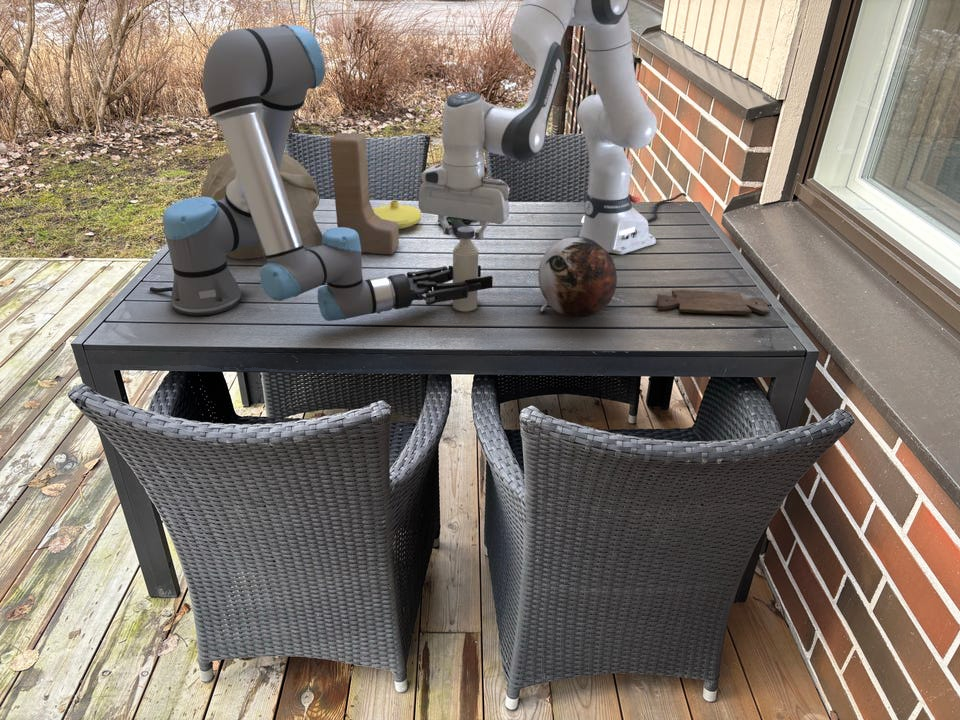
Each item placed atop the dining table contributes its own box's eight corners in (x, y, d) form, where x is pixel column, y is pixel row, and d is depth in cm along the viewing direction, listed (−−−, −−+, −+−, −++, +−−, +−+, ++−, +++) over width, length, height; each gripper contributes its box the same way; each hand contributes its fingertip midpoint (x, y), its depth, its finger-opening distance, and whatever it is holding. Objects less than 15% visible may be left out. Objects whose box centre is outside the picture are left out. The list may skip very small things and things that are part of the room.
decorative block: (393, 255, 191) (387, 142, 176) (339, 251, 193) (328, 139, 178) (399, 245, 198) (394, 134, 183) (347, 241, 200) (337, 132, 184)
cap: (461, 240, 156) (461, 233, 155) (454, 234, 159) (454, 227, 158) (477, 237, 157) (477, 231, 156) (469, 232, 160) (469, 225, 159)
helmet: (337, 253, 194) (330, 140, 179) (228, 274, 179) (210, 153, 164) (298, 224, 213) (288, 120, 198) (196, 241, 198) (178, 130, 183)
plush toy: (515, 268, 172) (574, 208, 164) (568, 314, 177) (628, 258, 168) (511, 307, 153) (577, 241, 144) (571, 357, 157) (638, 296, 149)
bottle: (476, 311, 164) (478, 237, 155) (452, 311, 164) (452, 236, 155) (477, 300, 169) (479, 228, 160) (453, 300, 169) (453, 227, 160)
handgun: (453, 229, 202) (431, 211, 213) (453, 239, 203) (431, 221, 214) (503, 222, 208) (480, 205, 219) (502, 231, 210) (479, 214, 221)
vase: (376, 214, 219) (375, 191, 216) (426, 217, 218) (426, 194, 214) (362, 232, 206) (360, 208, 202) (415, 235, 204) (415, 212, 201)
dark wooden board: (652, 295, 173) (658, 314, 165) (653, 289, 172) (659, 307, 164) (760, 298, 172) (772, 317, 163) (761, 291, 171) (774, 310, 162)
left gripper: (378, 291, 166) (469, 275, 174) (405, 326, 151) (503, 307, 160) (376, 261, 162) (469, 247, 170) (403, 294, 147) (504, 276, 156)
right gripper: (514, 176, 151) (512, 238, 158) (426, 165, 157) (428, 225, 164) (504, 184, 146) (502, 248, 153) (414, 173, 152) (416, 234, 159)
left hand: (485, 276), depth 165 cm, fingers closed on bottle, 6 cm apart
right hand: (463, 236), depth 158 cm, fingers open, 6 cm apart
